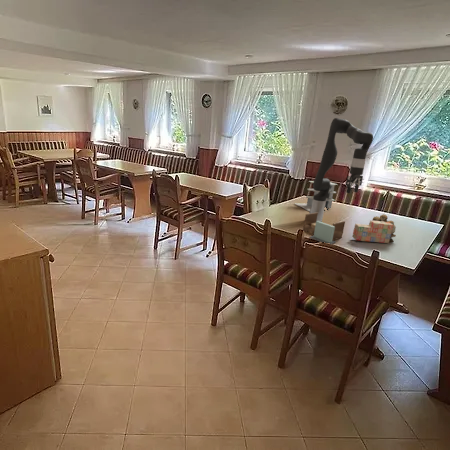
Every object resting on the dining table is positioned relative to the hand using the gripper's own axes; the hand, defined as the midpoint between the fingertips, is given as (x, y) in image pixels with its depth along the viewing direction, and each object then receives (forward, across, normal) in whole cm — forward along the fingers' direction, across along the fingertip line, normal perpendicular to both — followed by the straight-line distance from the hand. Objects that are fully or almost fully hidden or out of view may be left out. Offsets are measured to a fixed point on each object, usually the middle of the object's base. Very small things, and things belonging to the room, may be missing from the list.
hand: (351, 192), depth 203 cm
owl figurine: (+30, -22, +13) cm, 40 cm away
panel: (+30, +16, -4) cm, 34 cm away
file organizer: (+30, -58, -60) cm, 89 cm away
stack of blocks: (+29, -12, +12) cm, 34 cm away
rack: (+30, +5, -12) cm, 33 cm away
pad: (+30, +16, -4) cm, 34 cm away
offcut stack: (+29, +7, -12) cm, 32 cm away
